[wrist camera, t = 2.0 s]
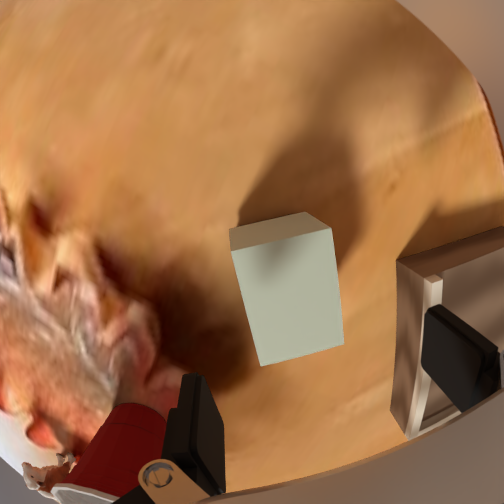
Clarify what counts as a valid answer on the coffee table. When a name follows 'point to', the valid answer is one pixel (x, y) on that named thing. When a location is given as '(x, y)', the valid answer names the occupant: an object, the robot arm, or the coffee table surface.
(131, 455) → the plastic cup
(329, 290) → the sage green cube
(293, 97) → the coffee table surface
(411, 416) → the grey tray
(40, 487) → the bull figurine
